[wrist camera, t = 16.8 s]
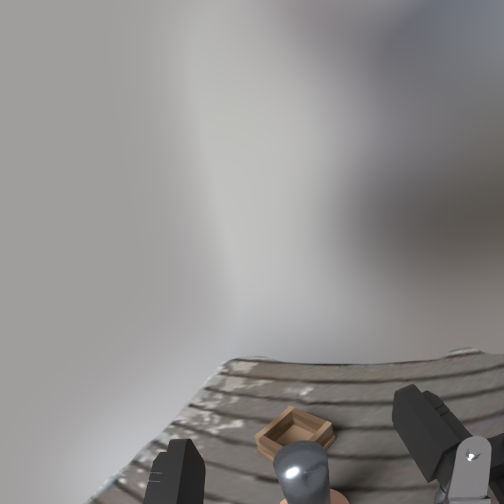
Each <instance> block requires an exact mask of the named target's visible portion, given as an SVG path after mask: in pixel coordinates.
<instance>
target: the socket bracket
mask: <svg viewBox="0 0 504 504" xmlns="http://www.w3.org/2000/svg"><path fill="white" fill-rule="evenodd" d="M254 438H255V441H256V443H257V446H258V447H257V448H256V450H257V452H258V453H260V454H261V455H263V456H264V457H266V458H268V459H269V460H271V461H272V462H273V461H274V457H275V455H276V454H277V452H278V451H279V450H280V449H281V448H282V447H284V446H285V445H287V444H289V443H292V442H295V441H301V440H308V441H313V442H316V443H318V444H320V445H321V446H323V447H324V449H325V450H326V449H327V448H328V447H329V446H330V445H331V444H332V443H333V442H334V441H335V439H336V435H333V428H332V423H331V422H328V421H326V420H323V419H321V418H318V417H316V416H313V415H311V414H308V413H306V412H304V411H301V410H299V409H297V408H295V407H292V406H289V407H288V408H287V409H286V410H285V411H284V412H282V413H281V414H280V415H279V416H278V417H277V418H275V419H274V420H273V421H272V422H271V423H269V424H268V425H267V426H266V427H265V428H263V429H262V430H261V431H260V432H258V433H257V434H256V435H255V436H254Z"/></svg>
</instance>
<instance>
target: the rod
mask: <svg viewBox="0 0 504 504" xmlns="http://www.w3.org/2000/svg"><path fill="white" fill-rule="evenodd" d="M273 465H274V469H275V472H276V474H277V477H278V480H279V482H280V485H281V488H282V490H283V493H284V496H285V498H286V501H287V503H288V504H331V497H330V482H329V469H328V457H327V452H326V450H325V449H324V447H323V446H321V445H320V444H318V443H316V442H313V441H308V440H301V441H295V442H292V443H289V444H287V445H285V446H284V447H282V448H281V449H280V450H279V451H278V452H277V454H276V455H275V457H274V461H273Z"/></svg>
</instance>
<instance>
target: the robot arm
mask: <svg viewBox="0 0 504 504" xmlns="http://www.w3.org/2000/svg"><path fill="white" fill-rule="evenodd" d="M392 421H393V425H394V427H395V429H396V431H397V432H398V434H399V436H400V437H401V439H402V440H403V442H404V444H405V445H406V447H407V449H408V450H409V452H410V454H411V455H412V457H413V459H414V460H415V462H416V464H417V465H418V467H419V469H420V470H421V472H422V474H423V476H424V477H425V479H426V481H427V482H428V483H429V482H431V481H432V480H434V479H437V480H438V482H439V485H438V488H437V492H436V496H435V499H434V502H433V504H491V498H490V497H487V489H488V484H489V486H490V488H491V489H492V491H493V493H494V494H495V496H496V498H497V500H498V501H499V503H500V504H504V433H502V434H500V435H497V436H495V437H492V438H489V439H485V438H484V437H480V436H472V435H471V434H470V433H469V432H468V431H467V430H466V428H465V427H464V426H463V425H462V424H461V422H460V421H459V420H458V419H457V418H456V416H455V415H454V414H453V413H452V412H450V409H449V408H448V407H447V406H446V405H444V403H443V401H442V400H441V399H440V398H439V397H438V396H437V395H435V394H433V393H431V392H429V391H425V392H423V393H421V392H420V390H419V389H418V388H417V387H416V386H415V385H414V384H411V385H409V386H406V387H404V388H402V389H399V390H397V391H395V394H394V403H393V411H392ZM205 472H206V471H205V464H204V461H203V459H202V457H201V455H200V454H199V452H198V450H197V449H196V447H195V445H194V444H193V442H192V440H191V439H172V440H170V442H169V445H168V449H167V452H160V453H159V455H158V456H157V457H156V459H155V460H154V461H153V465H152V469H151V474H150V477H149V482H148V485H147V489H146V493H145V498H144V502H143V504H203V499H204V485H205Z"/></svg>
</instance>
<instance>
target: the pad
mask: <svg viewBox="0 0 504 504" xmlns="http://www.w3.org/2000/svg"><path fill="white" fill-rule="evenodd" d="M330 497H331V504H349V502H348V500H347V499H346V497H345V496H343V495H342V494H341V493H340V492H338V491H336V490H333V489H330ZM280 504H288V503H287V501H286V498H285V499H284V500H283V501H282V502H281V503H280Z"/></svg>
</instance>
